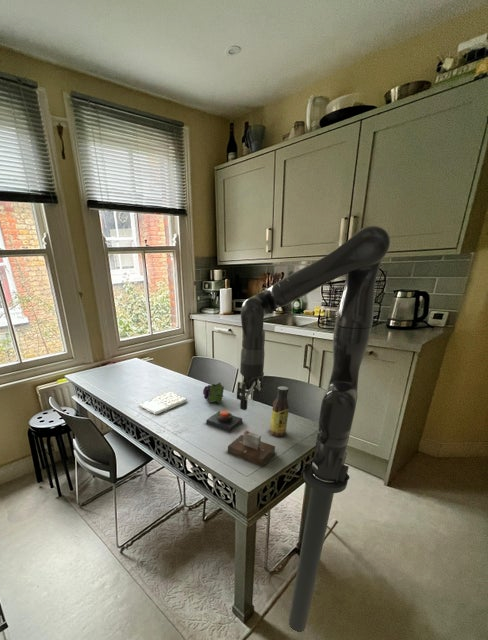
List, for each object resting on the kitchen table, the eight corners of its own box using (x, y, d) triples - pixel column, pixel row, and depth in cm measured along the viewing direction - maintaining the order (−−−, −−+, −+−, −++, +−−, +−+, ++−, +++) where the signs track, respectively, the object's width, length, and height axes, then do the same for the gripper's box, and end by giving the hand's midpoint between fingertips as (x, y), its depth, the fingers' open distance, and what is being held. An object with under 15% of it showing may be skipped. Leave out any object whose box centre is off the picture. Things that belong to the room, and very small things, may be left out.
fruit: (212, 400, 166) (230, 403, 153) (195, 402, 160) (212, 405, 148) (211, 381, 165) (230, 382, 152) (194, 382, 159) (212, 384, 147)
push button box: (242, 422, 137) (242, 414, 136) (230, 432, 130) (230, 424, 129) (219, 415, 144) (219, 407, 143) (206, 424, 137) (206, 416, 136)
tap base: (274, 452, 116) (275, 445, 115) (261, 466, 109) (262, 459, 108) (241, 440, 124) (241, 434, 123) (227, 452, 117) (227, 445, 116)
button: (230, 415, 136) (230, 411, 135) (225, 418, 134) (225, 415, 133) (223, 413, 138) (223, 409, 137) (218, 416, 136) (218, 412, 135)
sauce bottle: (279, 438, 125) (284, 392, 116) (266, 432, 129) (270, 388, 121) (289, 433, 129) (294, 388, 120) (276, 427, 133) (280, 383, 125)
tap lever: (260, 447, 114) (261, 435, 112) (257, 450, 113) (258, 437, 111) (245, 442, 118) (246, 430, 116) (242, 444, 117) (243, 432, 114)
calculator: (187, 401, 158) (187, 398, 158) (155, 415, 146) (155, 411, 146) (170, 394, 167) (170, 391, 167) (139, 406, 155) (138, 402, 155)
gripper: (252, 368, 95) (249, 415, 102) (272, 356, 105) (268, 400, 112) (230, 364, 100) (229, 409, 107) (252, 353, 110) (250, 395, 117)
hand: (249, 404), depth 110 cm, fingers open, 8 cm apart
